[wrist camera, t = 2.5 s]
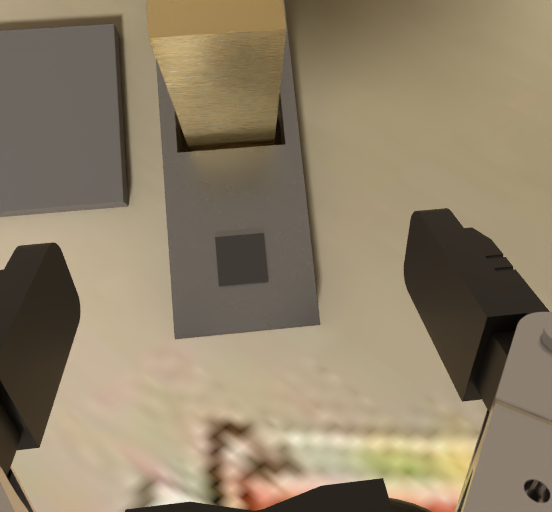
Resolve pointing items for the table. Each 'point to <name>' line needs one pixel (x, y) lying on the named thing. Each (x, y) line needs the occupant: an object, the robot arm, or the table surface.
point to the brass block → (221, 68)
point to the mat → (61, 120)
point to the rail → (238, 228)
